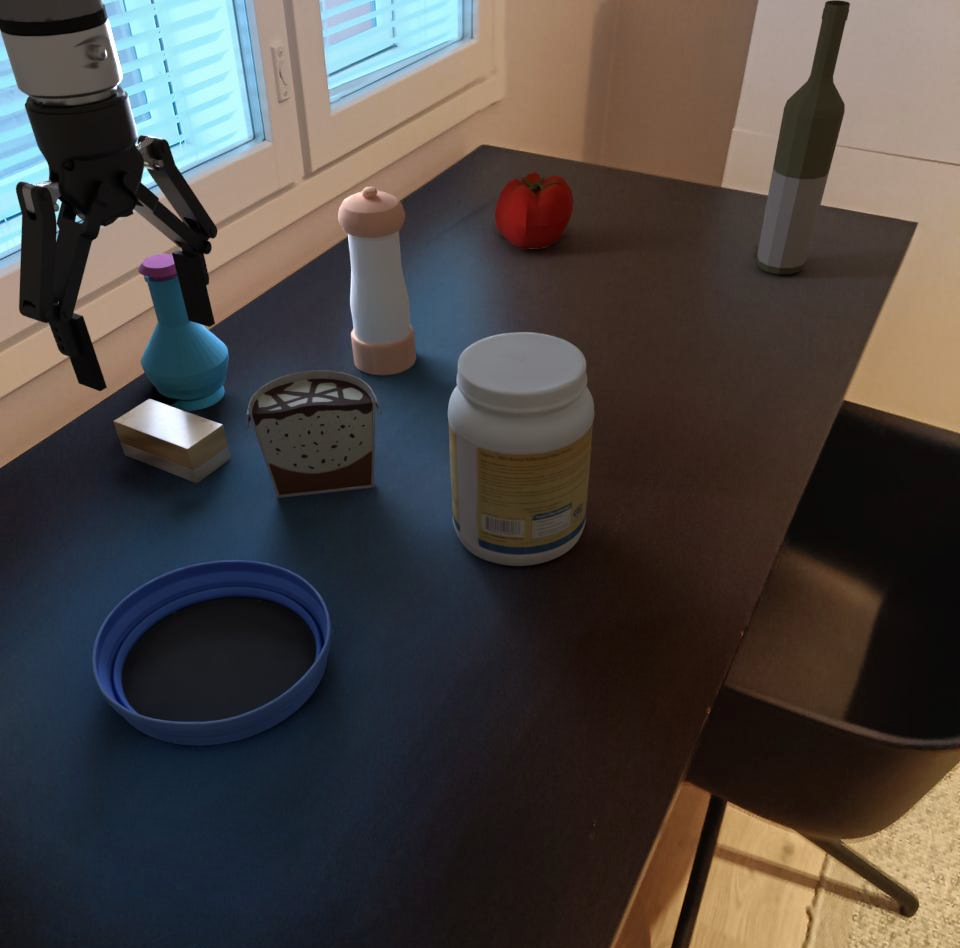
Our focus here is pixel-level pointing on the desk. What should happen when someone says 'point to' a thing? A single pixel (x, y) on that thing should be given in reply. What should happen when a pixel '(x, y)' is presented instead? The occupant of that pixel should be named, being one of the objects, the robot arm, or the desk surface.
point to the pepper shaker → (377, 283)
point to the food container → (316, 432)
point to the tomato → (534, 210)
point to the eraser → (173, 440)
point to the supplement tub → (520, 447)
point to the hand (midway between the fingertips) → (150, 352)
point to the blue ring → (213, 651)
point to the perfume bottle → (180, 344)
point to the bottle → (804, 154)
